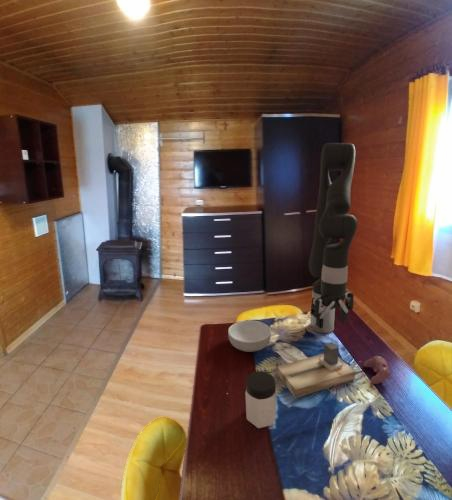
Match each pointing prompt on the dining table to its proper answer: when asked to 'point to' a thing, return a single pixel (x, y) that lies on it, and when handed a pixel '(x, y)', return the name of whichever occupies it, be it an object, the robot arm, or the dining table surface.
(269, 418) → the jar
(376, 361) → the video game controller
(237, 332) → the cereal bowl
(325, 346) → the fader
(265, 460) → the dining table surface
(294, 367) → the tan flat block
